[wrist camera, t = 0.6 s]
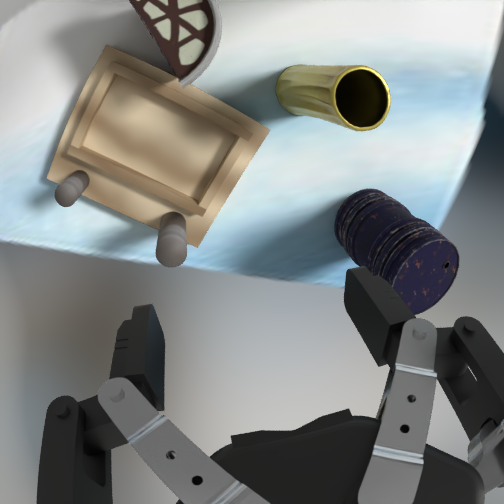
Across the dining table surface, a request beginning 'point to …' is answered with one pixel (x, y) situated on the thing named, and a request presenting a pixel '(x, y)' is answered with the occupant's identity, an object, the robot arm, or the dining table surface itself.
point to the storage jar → (397, 247)
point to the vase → (336, 94)
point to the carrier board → (153, 151)
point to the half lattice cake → (183, 33)
